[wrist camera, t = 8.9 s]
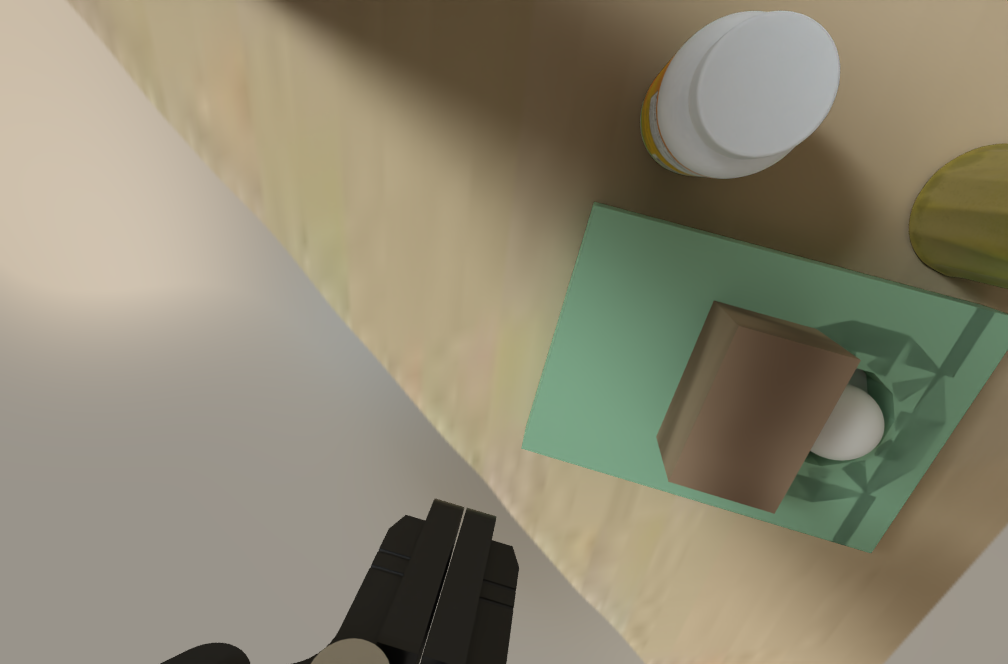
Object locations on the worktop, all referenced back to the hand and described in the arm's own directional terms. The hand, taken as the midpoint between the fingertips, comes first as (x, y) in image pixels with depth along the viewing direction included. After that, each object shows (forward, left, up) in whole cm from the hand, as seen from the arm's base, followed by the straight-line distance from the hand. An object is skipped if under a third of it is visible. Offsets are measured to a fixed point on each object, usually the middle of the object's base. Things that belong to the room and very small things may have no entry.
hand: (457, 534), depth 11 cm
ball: (+17, 0, -16) cm, 23 cm away
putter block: (+11, 0, -15) cm, 19 cm away
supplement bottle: (+5, +12, -18) cm, 22 cm away
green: (+12, 0, -18) cm, 21 cm away
